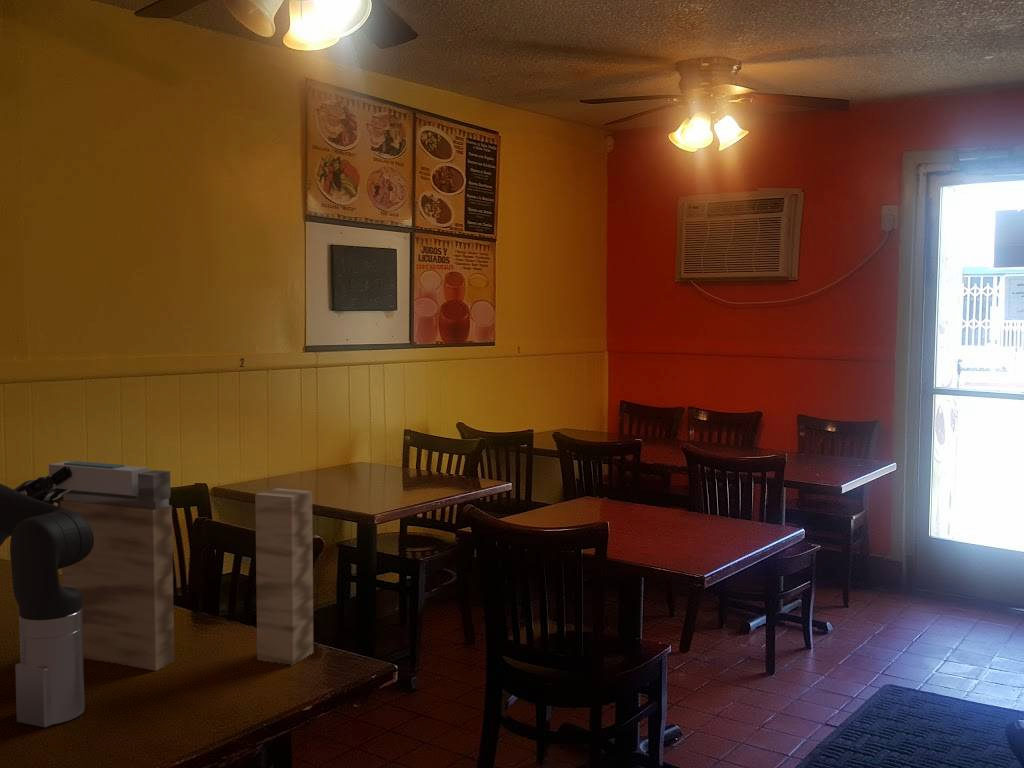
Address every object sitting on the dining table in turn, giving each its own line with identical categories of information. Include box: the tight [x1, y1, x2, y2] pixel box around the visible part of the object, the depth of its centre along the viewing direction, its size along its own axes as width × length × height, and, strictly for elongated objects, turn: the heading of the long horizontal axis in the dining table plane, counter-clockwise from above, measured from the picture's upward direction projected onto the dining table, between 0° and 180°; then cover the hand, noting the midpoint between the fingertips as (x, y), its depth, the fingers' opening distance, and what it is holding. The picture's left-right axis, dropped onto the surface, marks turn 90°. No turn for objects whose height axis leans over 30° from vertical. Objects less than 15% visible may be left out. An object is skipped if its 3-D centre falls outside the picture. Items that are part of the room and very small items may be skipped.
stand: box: [254, 487, 314, 666], centre depth 180 cm, size 7×8×32 cm
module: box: [48, 460, 150, 495], centre depth 179 cm, size 20×4×5 cm, turn 70°
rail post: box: [59, 469, 175, 671], centre depth 178 cm, size 5×22×36 cm, turn 70°
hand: (79, 468), depth 180 cm, fingers closed on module, 4 cm apart
